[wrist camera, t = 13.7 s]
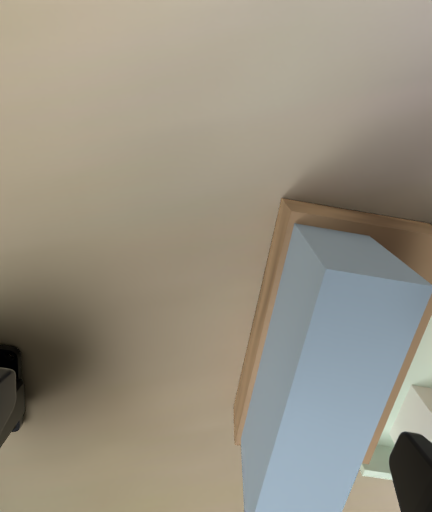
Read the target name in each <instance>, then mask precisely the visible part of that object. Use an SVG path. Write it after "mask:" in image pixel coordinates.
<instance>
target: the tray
mask: <svg viewBox="0 0 432 512" xmlns="http://www.w3.org/2000/svg"><path fill="white" fill-rule="evenodd" d="M411 385H415V386H421V387H427V388H432V315H431V318H430V320H429V323H428V325H427V327H426V330H425V332H424V334H423V337H422V339H421V342H420V344H419V346H418V349H417V351H416V353H415V356H414V358H413V361H412V363H411V365H410V368H409V370H408V372H407V375H406V377H405V380H404V382H403V384H402V387H401V389H400V391H399V394H398V396H397V399H396V401H395V403H394V406H393V408H392V410H391V413H390V415H389V418H388V420H387V422H386V425H385V427H384V429H383V432H382V434H381V437H380V439H379V441H378V444H377V446H376V448H375V451H374V453H373V456H372V458H371V460H370V463H369V464H361V466H360V471H361V474H362V476H368V477H375V478H382V479H389V480H392V476H391V472H390V468H389V457H390V454H391V452H392V450H393V447H394V445H395V444H394V442H393V440H392V438H391V436H390V435H389V433H390V431H391V429H392V426H393V424H394V422H395V420H396V417H397V415H398V413H399V411H400V409H401V406H402V404H403V402H404V400H405V397H406V395H407V393H408V391H409V389H410V386H411Z"/></svg>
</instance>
